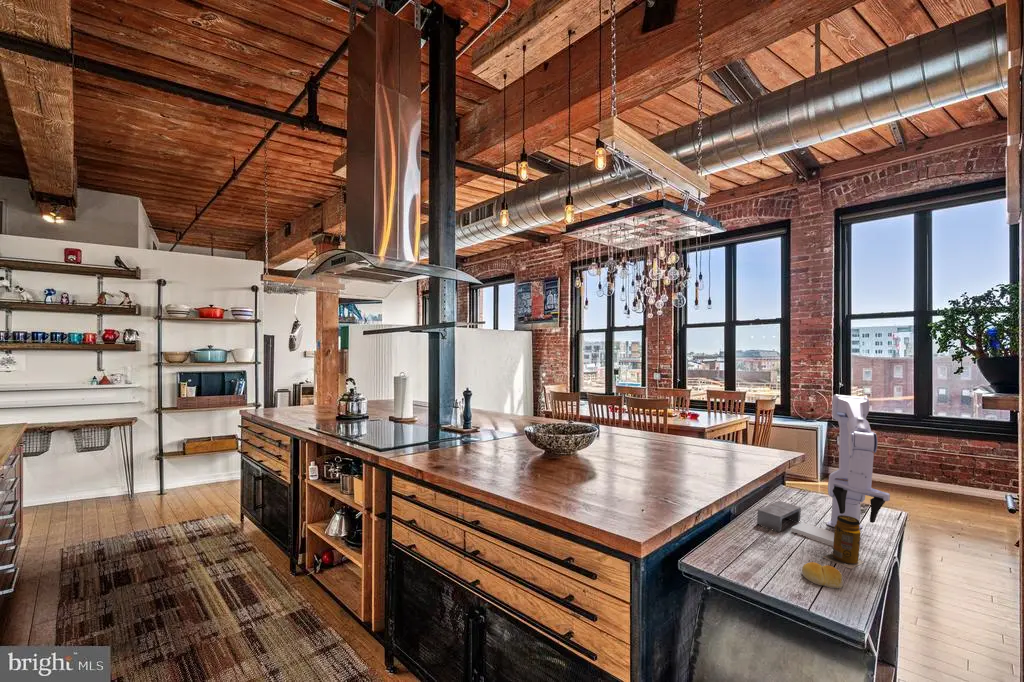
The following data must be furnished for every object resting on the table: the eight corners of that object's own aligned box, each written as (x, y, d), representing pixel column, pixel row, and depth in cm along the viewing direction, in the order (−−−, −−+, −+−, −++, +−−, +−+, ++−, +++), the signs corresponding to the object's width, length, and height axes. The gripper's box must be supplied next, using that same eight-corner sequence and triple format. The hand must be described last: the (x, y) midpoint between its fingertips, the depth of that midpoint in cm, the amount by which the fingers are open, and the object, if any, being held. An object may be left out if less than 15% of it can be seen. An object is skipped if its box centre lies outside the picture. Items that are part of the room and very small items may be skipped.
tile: (801, 528, 159) (801, 522, 159) (846, 543, 149) (847, 536, 149) (791, 533, 154) (791, 527, 154) (837, 549, 144) (838, 543, 144)
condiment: (864, 562, 136) (867, 520, 135) (851, 569, 131) (854, 526, 130) (835, 551, 142) (838, 511, 141) (822, 558, 137) (825, 516, 137)
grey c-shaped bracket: (778, 514, 169) (779, 500, 169) (799, 521, 163) (800, 507, 163) (756, 524, 159) (757, 509, 159) (779, 532, 154) (780, 516, 153)
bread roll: (802, 568, 130) (803, 554, 130) (842, 579, 125) (843, 564, 125) (800, 581, 123) (801, 566, 123) (843, 593, 118) (844, 577, 118)
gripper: (827, 467, 146) (824, 511, 146) (885, 481, 134) (882, 529, 135) (836, 464, 150) (833, 507, 151) (893, 477, 139) (890, 523, 139)
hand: (856, 517), depth 143 cm, fingers open, 7 cm apart
